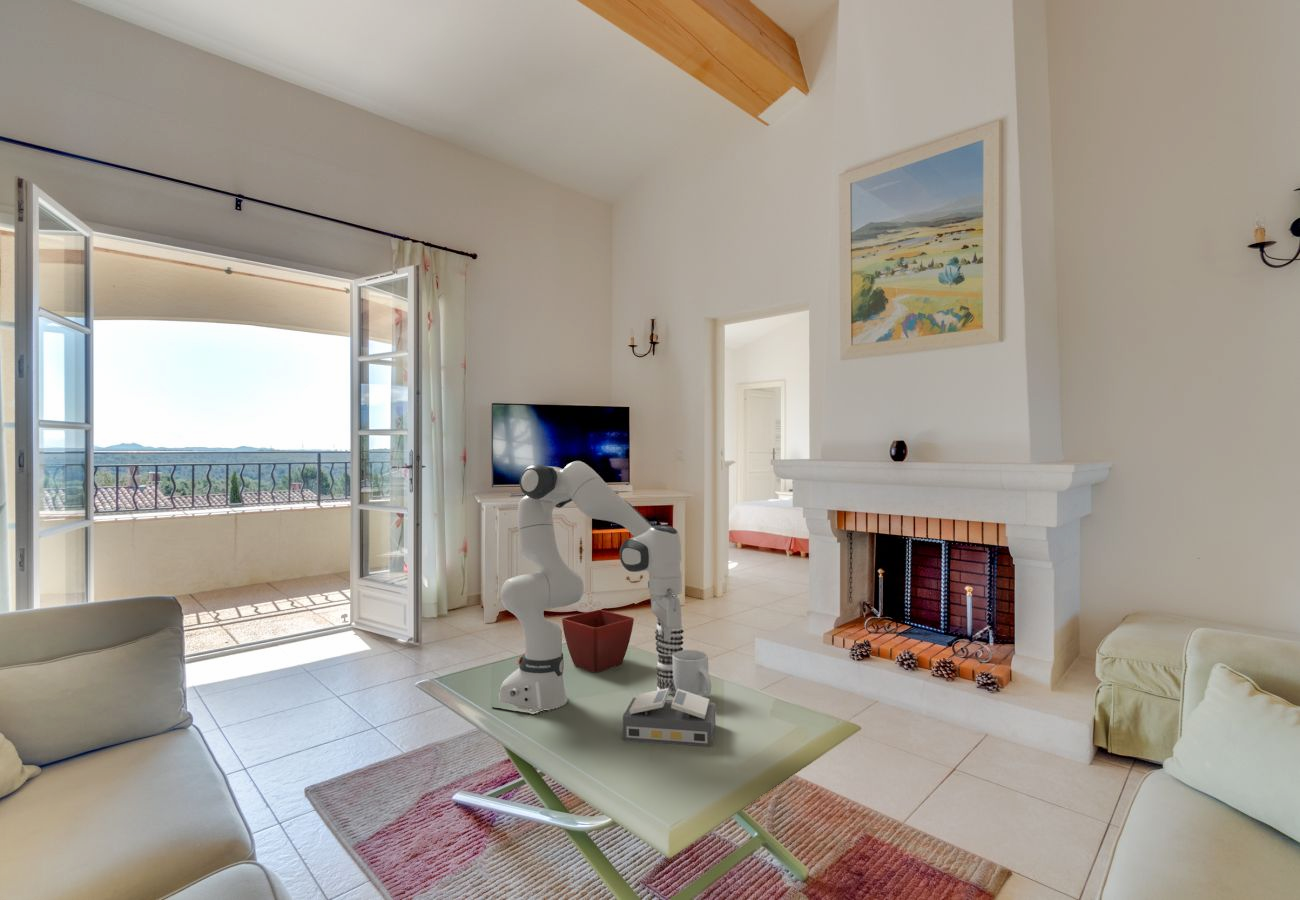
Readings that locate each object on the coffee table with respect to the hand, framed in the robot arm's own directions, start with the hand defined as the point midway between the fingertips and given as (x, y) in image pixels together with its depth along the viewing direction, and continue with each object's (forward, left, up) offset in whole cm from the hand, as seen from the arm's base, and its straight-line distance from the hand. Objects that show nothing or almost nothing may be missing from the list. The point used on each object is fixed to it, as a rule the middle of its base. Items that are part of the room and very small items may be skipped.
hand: (666, 638), depth 161 cm
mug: (+4, +24, -25) cm, 35 cm away
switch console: (+1, 0, -25) cm, 25 cm away
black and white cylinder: (-4, +31, -25) cm, 40 cm away
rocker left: (-5, 0, -17) cm, 17 cm away
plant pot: (-33, +50, -25) cm, 65 cm away
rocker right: (+6, 0, -17) cm, 18 cm away
